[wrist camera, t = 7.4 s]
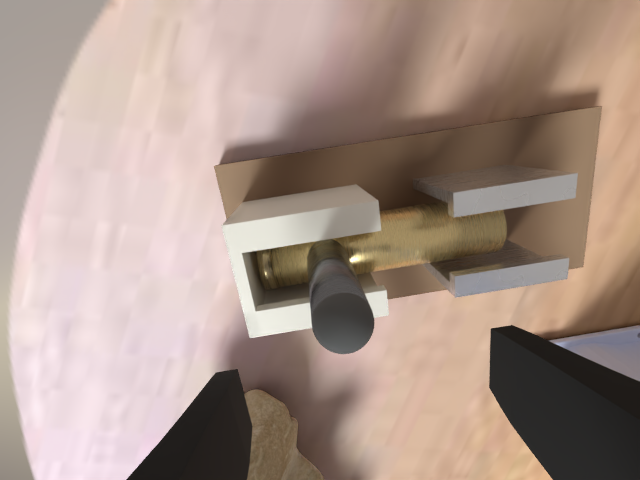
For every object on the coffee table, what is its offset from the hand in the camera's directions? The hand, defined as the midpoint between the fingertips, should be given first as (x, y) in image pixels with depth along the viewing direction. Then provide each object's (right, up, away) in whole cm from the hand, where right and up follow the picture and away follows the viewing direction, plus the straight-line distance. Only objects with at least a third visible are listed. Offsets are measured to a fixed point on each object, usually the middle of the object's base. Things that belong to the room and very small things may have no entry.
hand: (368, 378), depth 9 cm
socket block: (-2, +4, +9) cm, 10 cm away
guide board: (+4, +5, +9) cm, 11 cm away
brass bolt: (+1, +4, +8) cm, 9 cm away
